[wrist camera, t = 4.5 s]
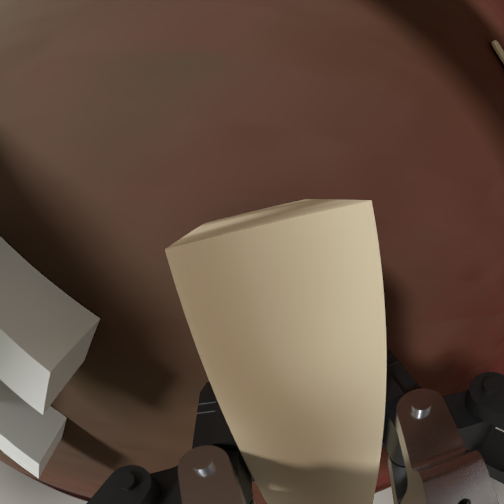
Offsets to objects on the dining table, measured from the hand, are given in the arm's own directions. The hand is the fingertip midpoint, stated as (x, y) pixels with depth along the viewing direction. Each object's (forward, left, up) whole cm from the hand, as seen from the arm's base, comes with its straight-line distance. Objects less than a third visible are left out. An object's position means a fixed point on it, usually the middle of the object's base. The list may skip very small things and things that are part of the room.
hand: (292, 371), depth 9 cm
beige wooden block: (0, 0, -1) cm, 1 cm away
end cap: (+10, -11, -3) cm, 15 cm away
